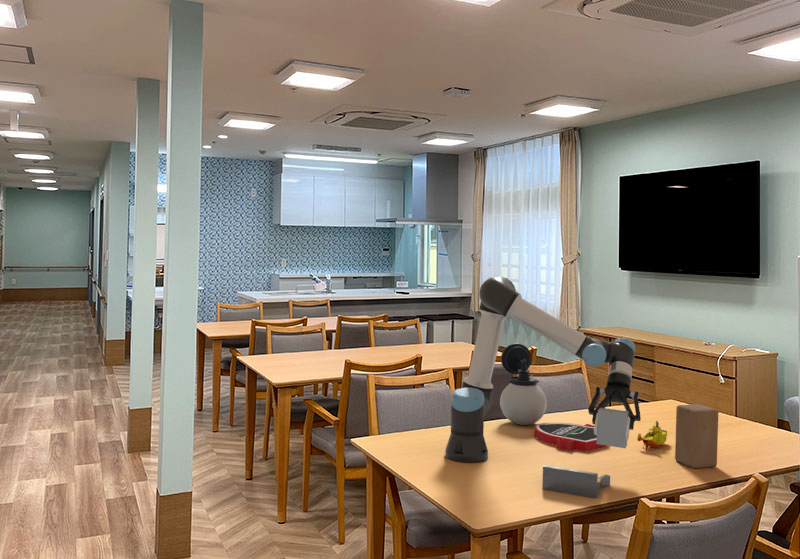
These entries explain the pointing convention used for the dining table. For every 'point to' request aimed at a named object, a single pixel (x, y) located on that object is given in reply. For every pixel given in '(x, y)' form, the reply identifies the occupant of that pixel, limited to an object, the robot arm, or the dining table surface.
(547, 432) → the emblem
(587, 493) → the rack
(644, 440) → the toy submarine
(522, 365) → the light fixture
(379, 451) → the dining table surface
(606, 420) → the panel
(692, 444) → the wooden block
